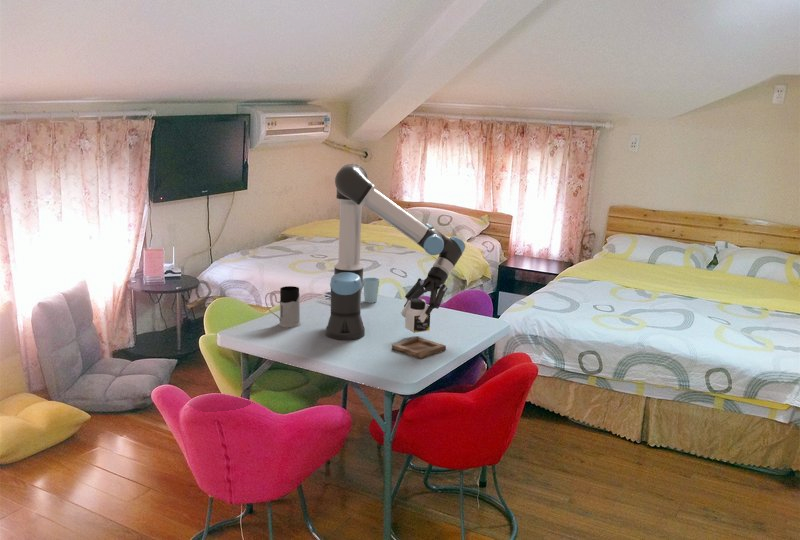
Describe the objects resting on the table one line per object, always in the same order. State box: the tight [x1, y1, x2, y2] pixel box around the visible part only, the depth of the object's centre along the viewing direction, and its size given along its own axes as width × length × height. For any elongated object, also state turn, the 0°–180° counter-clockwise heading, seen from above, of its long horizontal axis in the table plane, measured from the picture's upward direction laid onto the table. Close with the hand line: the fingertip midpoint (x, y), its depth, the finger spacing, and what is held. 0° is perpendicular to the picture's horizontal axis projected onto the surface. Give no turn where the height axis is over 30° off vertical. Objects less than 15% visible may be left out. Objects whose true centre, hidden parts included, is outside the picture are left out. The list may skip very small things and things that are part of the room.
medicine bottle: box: [404, 297, 431, 334], centre depth 271 cm, size 7×7×12 cm
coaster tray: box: [391, 336, 447, 360], centre depth 258 cm, size 14×14×2 cm
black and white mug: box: [264, 285, 302, 328], centre depth 282 cm, size 9×14×15 cm, turn 109°
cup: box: [363, 277, 380, 304], centre depth 321 cm, size 8×8×10 cm
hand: (411, 318), depth 269 cm, fingers closed on medicine bottle, 8 cm apart
